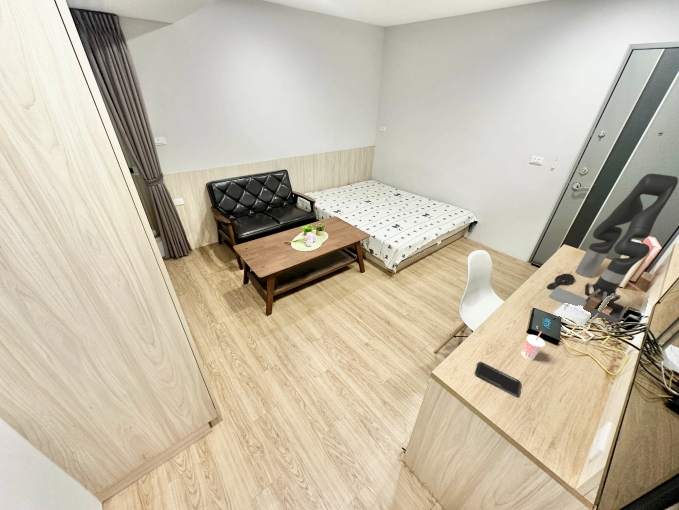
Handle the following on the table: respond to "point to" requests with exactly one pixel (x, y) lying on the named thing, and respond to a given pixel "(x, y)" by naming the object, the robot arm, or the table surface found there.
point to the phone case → (579, 327)
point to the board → (567, 297)
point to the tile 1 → (607, 309)
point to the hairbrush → (566, 277)
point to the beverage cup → (532, 346)
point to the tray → (614, 315)
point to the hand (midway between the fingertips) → (592, 305)
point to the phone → (498, 379)
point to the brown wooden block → (593, 303)
